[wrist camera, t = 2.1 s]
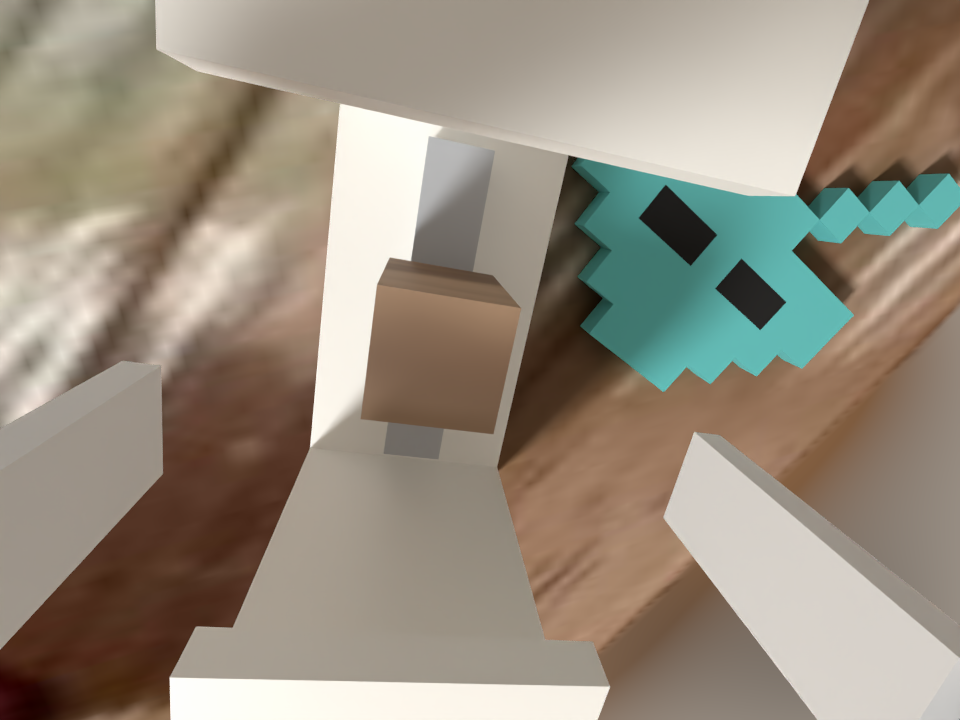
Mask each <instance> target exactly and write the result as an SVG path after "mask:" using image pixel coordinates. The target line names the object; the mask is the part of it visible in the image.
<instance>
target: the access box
mask: <svg viewBox="0 0 960 720" xmlns="http://www.w3.org/2000/svg"><path fill="white" fill-rule="evenodd" d="M868 2H869V0H155V4H156V49H157V50H159V51H161V52H163V53H165V54H166V55H168V56H170V57H172V58H174V59H176V60H177V61H179V62H181V63H183V64H185V65H187V66H189V67H190V68H192V69H194V70H196V71H198V72H203V73H207V74H212V75H216V76H220V77H225V78H229V79H234V80H238V81H243V82H247V83H251V84H256V85H260V86H265V87H269V88H274V89H278V90H282V91H287V92H291V93H296V94H300V95H305V96H309V97H313V98H318V99H322V100H327V101H331V102H335V103H340V111H339V122H338V134H337V145H336V157H335V168H334V180H333V191H332V203H331V214H330V226H329V237H328V249H327V260H326V272H325V283H324V295H323V306H322V318H321V329H320V341H319V352H318V364H317V375H316V387H315V398H314V410H313V421H312V433H311V444H310V450H309V452H308V454H307V457H306V459H305V461H304V463H303V466H302V468H301V470H300V473H299V475H298V477H297V480H296V482H295V484H294V487H293V489H292V491H291V494H290V496H289V498H288V501H287V503H286V505H285V508H284V510H283V512H282V515H281V517H280V519H279V522H278V524H277V526H276V529H275V531H274V533H273V536H272V538H271V540H270V542H269V545H268V547H267V549H266V552H265V554H264V556H263V559H262V561H261V563H260V566H259V568H258V570H257V573H256V575H255V577H254V580H253V582H252V584H251V587H250V589H249V591H248V594H247V596H246V598H245V601H244V603H243V605H242V608H241V610H240V612H239V615H238V617H237V619H236V622H235V624H234V626H233V628H221V627H196V628H195V630H194V632H193V634H192V636H191V637H190V639H189V641H188V643H187V645H186V647H185V649H184V651H183V653H182V655H181V657H180V659H179V661H178V663H177V665H176V667H175V668H174V670H173V672H172V674H171V676H170V711H171V720H598V717H599V714H600V711H601V709H602V706H603V704H604V701H605V699H606V696H607V693H608V690H609V688H610V686H609V683H608V680H607V678H606V675H605V673H604V670H603V667H602V665H601V662H600V659H599V657H598V654H597V652H596V649H595V646H594V644H593V642H587V641H561V640H545V637H544V634H543V630H542V627H541V623H540V620H539V616H538V612H537V609H536V605H535V602H534V598H533V594H532V591H531V587H530V584H529V580H528V576H527V573H526V569H525V566H524V562H523V559H522V555H521V551H520V548H519V544H518V541H517V537H516V533H515V530H514V526H513V523H512V519H511V515H510V512H509V508H508V505H507V501H506V497H505V494H504V490H503V487H502V483H501V480H500V476H499V472H498V469H497V465H498V461H499V456H500V452H501V448H502V443H503V439H504V435H505V430H506V426H507V422H508V417H509V413H510V408H511V404H512V400H513V395H514V391H515V387H516V382H517V378H518V374H519V369H520V365H521V361H522V356H523V352H524V348H525V343H526V339H527V334H528V330H529V326H530V321H531V317H532V313H533V308H534V304H535V300H536V295H537V291H538V287H539V282H540V278H541V273H542V269H543V265H544V260H545V256H546V252H547V247H548V243H549V239H550V234H551V230H552V226H553V221H554V217H555V212H556V208H557V204H558V199H559V195H560V191H561V186H562V182H563V178H564V173H565V169H566V165H567V160H568V156H569V155H570V156H574V157H579V158H583V159H588V160H592V161H596V162H601V163H605V164H610V165H614V166H619V167H623V168H627V169H632V170H636V171H641V172H645V173H649V174H654V175H658V176H663V177H667V178H672V179H676V180H680V181H685V182H689V183H694V184H698V185H703V186H707V187H711V188H716V189H720V190H725V191H729V192H733V193H738V194H742V195H747V196H795V195H796V193H797V190H798V187H799V185H800V182H801V179H802V177H803V174H804V172H805V169H806V166H807V164H808V161H809V158H810V156H811V153H812V150H813V148H814V145H815V142H816V140H817V137H818V134H819V132H820V129H821V126H822V124H823V121H824V119H825V116H826V113H827V111H828V108H829V105H830V103H831V100H832V97H833V95H834V92H835V89H836V87H837V84H838V81H839V79H840V76H841V74H842V71H843V68H844V66H845V63H846V60H847V58H848V55H849V52H850V50H851V47H852V44H853V42H854V39H855V36H856V34H857V31H858V28H859V26H860V23H861V21H862V18H863V15H864V13H865V10H866V7H867V5H868ZM390 257H391V258H396V259H402V260H408V261H414V262H419V263H425V264H431V265H437V266H442V267H448V268H454V269H459V270H465V271H471V272H477V273H482V274H488V275H493V276H494V277H495V278H496V280H497V281H498V282H499V283H500V284H501V285H502V287H503V288H504V289H505V290H506V291H507V292H508V293H509V295H510V296H511V297H512V298H513V299H514V300H515V302H516V303H517V304H518V305H519V306H520V307H521V312H520V317H519V321H518V326H517V330H516V335H515V339H514V344H513V348H512V353H511V357H510V362H509V366H508V371H507V375H506V380H505V385H504V389H503V394H502V398H501V403H500V407H499V412H498V416H497V421H496V425H495V430H494V434H486V433H477V432H469V431H460V430H451V429H442V428H434V427H425V426H416V425H408V424H399V423H390V422H381V421H373V420H364V419H361V412H362V403H363V395H364V387H365V379H366V371H367V362H368V354H369V346H370V338H371V330H372V321H373V313H374V305H375V297H376V289H377V283H378V281H379V279H380V277H381V275H382V273H383V271H384V269H385V266H386V264H387V262H388V260H389V258H390Z"/></svg>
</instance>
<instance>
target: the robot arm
mask: <svg viewBox="0 0 960 720" xmlns="http://www.w3.org/2000/svg"><path fill="white" fill-rule="evenodd" d="M162 474H163V449H162V390H161V366H160V365H152V364H144V363H136V362H128V361H121V362H120V363H118V364H116V365H114V366H112V367H111V368H109V369H107V370H105V371H103V372H102V373H100V374H98V375H96V376H94V377H93V378H91V379H89V380H87V381H85V382H83V383H82V384H80V385H78V386H76V387H74V388H73V389H71V390H69V391H67V392H65V393H64V394H62V395H60V396H58V397H56V398H55V399H53V400H51V401H49V402H47V403H45V404H44V405H42V406H40V407H38V408H36V409H35V410H33V411H31V412H29V413H27V414H26V415H24V416H22V417H20V418H18V419H16V420H15V421H13V422H11V423H9V424H7V425H6V426H4V427H2V428H0V649H1V648H2V647H3V646H4V645H5V644H6V643H7V642H8V640H9V639H10V638H11V637H12V636H13V635H14V634H15V633H16V632H17V631H18V630H19V629H20V628H21V626H22V625H23V624H24V623H25V622H26V621H27V620H28V619H29V618H30V617H31V616H32V615H33V613H34V612H35V611H36V610H37V609H38V608H39V607H40V606H41V605H42V604H43V603H44V602H45V600H46V599H47V598H48V597H49V596H50V595H51V594H52V593H53V592H54V591H55V590H56V589H57V588H58V586H59V585H60V584H61V583H62V582H63V581H64V580H65V579H66V578H67V577H68V576H69V575H70V573H71V572H72V571H73V570H74V569H75V568H76V567H77V566H78V565H79V564H80V563H81V562H82V561H83V559H84V558H85V557H86V556H87V555H88V554H89V553H90V552H91V551H92V550H93V549H94V548H95V546H96V545H97V544H98V543H99V542H100V541H101V540H102V539H103V538H104V537H105V536H106V535H107V534H108V532H109V531H110V530H111V529H112V528H113V527H114V526H115V525H116V524H117V523H118V522H119V521H120V519H121V518H122V517H123V516H124V515H125V514H126V513H127V512H128V511H129V510H130V509H131V508H132V507H133V505H134V504H135V503H136V502H137V501H138V500H139V499H140V498H141V497H142V496H143V495H144V494H145V492H146V491H147V490H148V489H149V488H150V487H151V486H152V485H153V484H154V483H155V482H156V481H157V480H158V478H159V477H160V476H161V475H162ZM664 519H665V520H666V522H667V523H668V524H669V526H670V527H671V528H672V530H673V531H674V532H675V534H676V535H677V536H678V537H679V539H680V540H681V541H682V543H683V544H684V545H685V547H686V548H687V549H688V551H689V552H690V553H691V555H692V556H693V557H694V558H695V560H696V561H697V562H698V564H699V565H700V566H701V567H702V569H703V570H704V572H705V573H706V574H707V575H708V577H709V578H710V579H711V581H712V582H713V583H714V585H715V586H716V587H717V589H718V590H719V591H720V592H721V594H722V595H723V596H724V598H725V599H726V600H727V602H728V603H729V604H730V606H731V607H732V608H733V610H734V611H735V612H736V614H737V615H738V616H739V617H740V619H741V620H742V621H743V623H744V624H745V625H746V627H747V628H748V629H749V630H750V632H751V633H752V634H753V636H754V637H755V638H756V640H757V641H758V642H759V644H760V645H761V646H762V648H763V649H764V650H765V652H766V653H767V654H768V655H769V657H770V658H771V659H772V661H773V662H774V663H775V664H776V666H777V667H778V669H779V670H780V671H781V672H782V674H783V675H784V676H785V678H786V679H787V680H788V682H789V683H790V684H791V686H792V687H793V688H794V689H795V691H796V692H797V693H798V695H799V696H800V697H801V699H802V700H803V701H804V703H805V704H806V705H807V707H808V708H809V709H810V710H811V712H812V713H813V714H814V716H815V717H816V718H817V720H960V625H959V624H958V623H956V622H955V621H954V620H952V619H951V618H950V617H949V616H948V615H946V614H945V613H944V612H943V611H941V610H940V609H939V608H937V607H936V606H935V605H934V604H933V603H931V602H930V601H929V600H927V599H926V598H925V597H924V596H922V595H921V594H920V593H918V592H917V591H916V590H915V589H913V588H912V587H911V586H910V585H908V584H907V583H906V582H905V581H903V580H902V579H901V578H900V577H898V576H897V575H896V574H895V573H893V572H892V571H891V570H889V569H888V568H887V567H886V566H884V565H883V564H882V563H881V562H879V561H878V560H877V559H876V558H874V557H873V556H872V555H871V554H869V553H868V552H867V551H865V550H864V549H863V548H862V547H860V546H859V545H858V544H857V543H855V542H854V541H853V540H852V539H850V538H849V537H848V536H847V535H845V534H844V533H843V532H841V531H840V530H839V529H838V528H836V527H835V526H834V525H833V524H831V523H830V522H829V521H828V520H826V519H825V518H824V517H822V516H821V515H820V514H819V513H817V512H816V511H815V510H813V509H812V508H811V507H810V506H809V505H807V504H806V503H805V502H804V501H802V500H801V499H800V498H799V497H797V496H796V495H795V494H793V493H792V492H791V491H790V490H788V489H787V488H786V487H785V486H783V485H782V484H781V483H780V482H778V481H777V480H776V479H774V478H773V477H772V476H771V475H769V474H768V473H767V472H766V471H764V470H763V469H762V468H761V467H759V466H758V465H757V464H756V463H754V462H753V461H752V460H750V459H749V458H748V457H747V456H745V455H744V454H743V453H742V452H740V451H739V450H738V449H737V448H735V447H734V446H733V445H731V444H730V443H729V442H728V441H726V440H725V439H724V438H723V437H721V436H720V435H715V434H707V433H699V432H694V434H693V437H692V440H691V443H690V446H689V448H688V451H687V454H686V457H685V459H684V462H683V465H682V468H681V470H680V473H679V476H678V479H677V482H676V484H675V487H674V490H673V493H672V495H671V498H670V501H669V504H668V507H667V509H666V512H665V515H664Z"/></svg>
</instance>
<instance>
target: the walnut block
mask: <svg viewBox="0 0 960 720" xmlns="http://www.w3.org/2000/svg"><path fill="white" fill-rule="evenodd" d="M520 312H521V307H520V306H519V305H518V304H517V303H516V302H515V300H514V299H513V298H512V297H511V296H510V295H509V293H508V292H507V291H506V290H505V289H504V288H503V287H502V285H501V284H500V283H499V282H498V281H497V280H496V278H495V277H494V276H493V275H488V274H482V273H477V272H471V271H465V270H459V269H454V268H448V267H442V266H437V265H431V264H425V263H419V262H414V261H408V260H402V259H396V258H391V257H390V258H389V260H388V262H387V264H386V266H385V269H384V271H383V273H382V275H381V277H380V279H379V281H378V283H377V289H376V297H375V305H374V313H373V321H372V330H371V338H370V346H369V354H368V362H367V371H366V379H365V387H364V395H363V403H362V412H361V419H364V420H373V421H381V422H390V423H399V424H408V425H416V426H425V427H434V428H442V429H451V430H460V431H469V432H477V433H486V434H494V430H495V425H496V421H497V416H498V412H499V407H500V403H501V398H502V394H503V389H504V385H505V380H506V375H507V371H508V366H509V362H510V357H511V353H512V348H513V344H514V339H515V335H516V330H517V326H518V321H519V317H520Z"/></svg>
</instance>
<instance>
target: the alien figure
mask: <svg viewBox="0 0 960 720" xmlns="http://www.w3.org/2000/svg"><path fill="white" fill-rule="evenodd" d="M571 167H572V168H573V169H574V170H575V171H576V172H578V173H579V174H580V175H581V176H582V177H583V178H584V179H585V180H586V181H587V182H588V183H590V184H591V185H592V186H593V187H594V188H595V189H596V190H597V191H598V192H599V193H598V194H597V196H596V197H595V198H594V199H593V201H592V202H591V203H590V205H589V206H588V207H587V208H586V210H585V211H584V212H583V213H582V215H581V216H580V217H579V219H578V220H577V221H576V222H575V225H576V226H577V227H578V228H580V229H581V230H582V231H583V232H584V233H585V234H586V235H588V236H589V237H590V238H591V239H592V240H593V241H595V242H596V243H597V244H598V245H599V246H600V247H601V248H600V249H599V250H598V252H597V253H596V254H595V255H594V257H593V258H592V259H591V260H590V262H589V263H588V264H587V265H586V267H585V268H584V269H583V270H582V272H581V273H580V274H579V275H578V278H579V279H580V280H582V281H583V282H584V283H585V284H586V285H588V286H589V287H590V288H591V289H592V290H594V291H595V292H596V293H597V294H599V295H600V296H601V297H602V298H603V299H602V300H601V301H600V302H599V304H598V305H597V306H596V307H595V308H594V310H593V311H592V312H591V313H590V314H589V316H588V317H587V318H586V319H585V320H584V322H583V323H582V324H581V325H580V327H582V328H583V329H584V330H585V331H586V332H588V333H589V334H590V335H591V336H593V337H594V338H595V339H596V340H598V341H599V342H600V343H602V344H603V345H604V346H605V347H607V348H608V349H609V350H610V351H612V352H613V353H614V354H616V355H617V356H618V357H619V358H621V359H622V360H623V361H625V362H626V363H627V364H628V365H630V366H631V367H632V368H633V369H635V370H636V371H637V372H639V373H640V374H641V375H642V376H644V377H645V378H646V379H648V380H649V381H650V382H651V383H653V384H654V385H655V386H657V387H658V388H659V389H660V390H662V391H663V392H664V391H665V390H666V389H667V388H668V387H669V386H670V385H671V384H672V382H673V381H674V380H675V379H676V378H677V377H678V376H679V375H680V374H681V372H682V371H683V370H684V369H685V368H686V367H687V368H689V369H690V370H691V371H692V372H693V373H695V374H696V375H697V376H699V377H700V378H702V379H703V380H705V381H706V382H708V383H709V384H711V383H712V382H713V381H714V380H715V379H716V378H717V377H718V376H719V374H720V373H721V372H722V371H723V370H724V369H725V368H726V367H727V366H728V365H729V364H730V363H731V361H733V362H734V363H735V364H737V365H738V366H739V367H740V368H742V369H744V370H746V371H748V372H749V373H751V374H753V375H755V376H757V375H758V374H759V373H760V372H761V371H762V370H763V369H764V368H765V367H766V366H767V365H768V364H769V363H770V362H771V361H772V360H773V358H774V357H775V356H776V355H778V356H779V357H780V358H781V359H783V360H784V361H787V362H789V363H791V364H793V365H795V366H797V367H799V368H803V367H804V366H805V365H806V364H807V363H808V362H809V361H810V360H811V359H812V358H813V357H814V356H815V355H816V354H817V353H818V352H819V351H820V350H821V349H822V347H823V346H824V345H825V344H826V343H827V342H828V341H829V340H830V339H831V338H832V337H833V336H834V335H835V334H836V333H837V332H838V331H839V330H840V329H841V328H842V327H843V326H844V325H845V324H846V323H847V322H848V321H849V320H850V319H851V318H852V317H853V316H854V315H853V314H852V313H851V312H850V311H849V310H848V309H847V307H846V306H845V305H844V304H843V303H842V302H841V301H840V300H839V299H838V298H837V297H836V296H835V295H834V294H833V293H832V292H831V291H830V290H829V289H828V288H827V287H826V286H825V285H824V284H823V283H822V282H821V281H820V280H819V279H818V277H817V276H816V275H815V274H814V273H813V272H812V271H811V270H810V269H809V268H808V267H807V266H806V265H805V264H804V263H803V262H802V261H801V260H800V259H799V258H798V257H797V256H796V255H795V254H794V253H793V252H792V250H793V249H794V248H795V247H796V246H797V244H798V243H799V242H800V241H801V240H802V239H803V238H804V237H805V236H806V234H807V233H808V232H809V231H810V232H811V233H812V234H813V236H814V237H815V238H816V239H817V240H818V241H826V242H834V243H842V242H843V241H844V240H845V239H846V237H847V236H848V235H849V234H850V233H851V232H852V231H853V230H854V229H855V228H856V227H857V226H858V227H859V228H860V229H861V230H862V232H863V233H864V234H875V235H885V236H890V235H891V234H892V233H893V232H894V231H895V230H896V229H897V228H898V227H899V226H900V225H901V224H902V223H903V221H904V220H905V221H906V223H907V224H908V225H909V226H910V227H922V228H936V229H938V228H939V227H940V226H941V225H942V224H943V223H944V222H945V221H946V220H947V219H948V218H949V216H950V215H951V214H952V213H953V212H954V211H955V210H956V209H957V208H958V207H959V206H960V187H959V186H958V185H957V183H956V182H955V181H954V179H953V178H952V177H951V175H950V174H920V175H918V177H917V178H916V179H915V180H914V181H913V182H912V183H911V184H910V185H909V186H908V187H907V188H905V187H904V186H903V185H902V183H901V182H900V181H872V182H871V183H870V184H869V185H868V186H867V188H866V189H865V190H864V191H863V192H862V193H861V194H860V195H859V196H858V197H856V196H855V195H854V194H853V192H852V191H851V190H850V189H849V188H824V189H823V190H822V191H821V193H820V194H819V195H818V196H817V197H816V198H815V199H814V200H813V201H812V203H811V204H810V205H809V206H807V205H806V204H805V203H804V202H803V201H802V200H801V199H800V198H799V197H798V195H797V194H796V195H795V196H747V195H742V194H738V193H733V192H729V191H725V190H720V189H716V188H711V187H707V186H703V185H698V184H694V183H689V182H685V181H680V180H676V179H672V178H667V177H663V176H658V175H654V174H649V173H645V172H641V171H636V170H632V169H627V168H623V167H619V166H614V165H610V164H605V163H601V162H596V161H592V160H588V159H583V158H579V157H578V158H577V160H576V161H575V162H574V164H573V165H572V166H571Z"/></svg>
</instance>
